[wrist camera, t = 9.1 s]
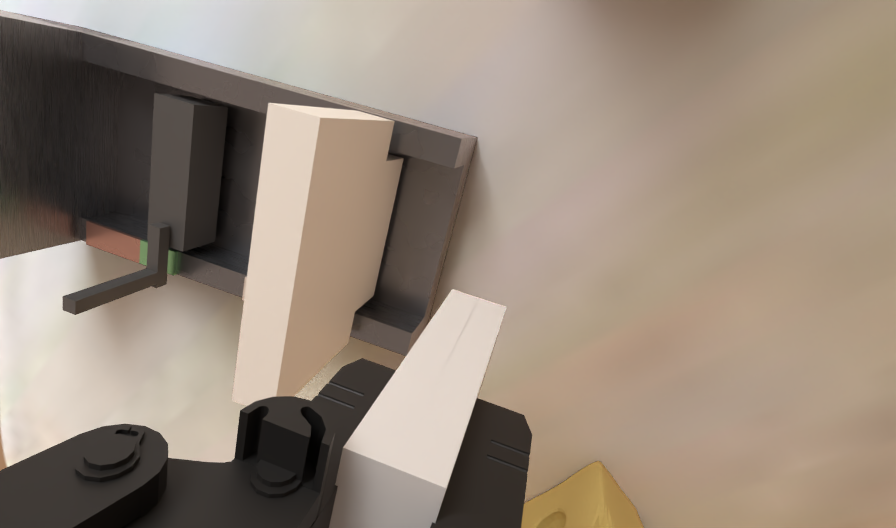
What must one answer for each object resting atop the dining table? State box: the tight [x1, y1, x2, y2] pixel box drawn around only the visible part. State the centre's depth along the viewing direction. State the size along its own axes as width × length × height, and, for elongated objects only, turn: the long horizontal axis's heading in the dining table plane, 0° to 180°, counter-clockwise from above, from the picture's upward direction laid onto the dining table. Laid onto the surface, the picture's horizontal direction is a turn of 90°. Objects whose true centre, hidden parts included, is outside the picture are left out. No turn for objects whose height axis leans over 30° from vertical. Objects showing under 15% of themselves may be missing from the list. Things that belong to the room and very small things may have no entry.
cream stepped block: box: [232, 103, 404, 406], centre depth 19 cm, size 5×10×8 cm, turn 165°
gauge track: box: [0, 10, 477, 356], centre depth 22 cm, size 22×10×8 cm, turn 75°
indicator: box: [63, 93, 228, 315], centre depth 21 cm, size 2×9×7 cm, turn 165°
